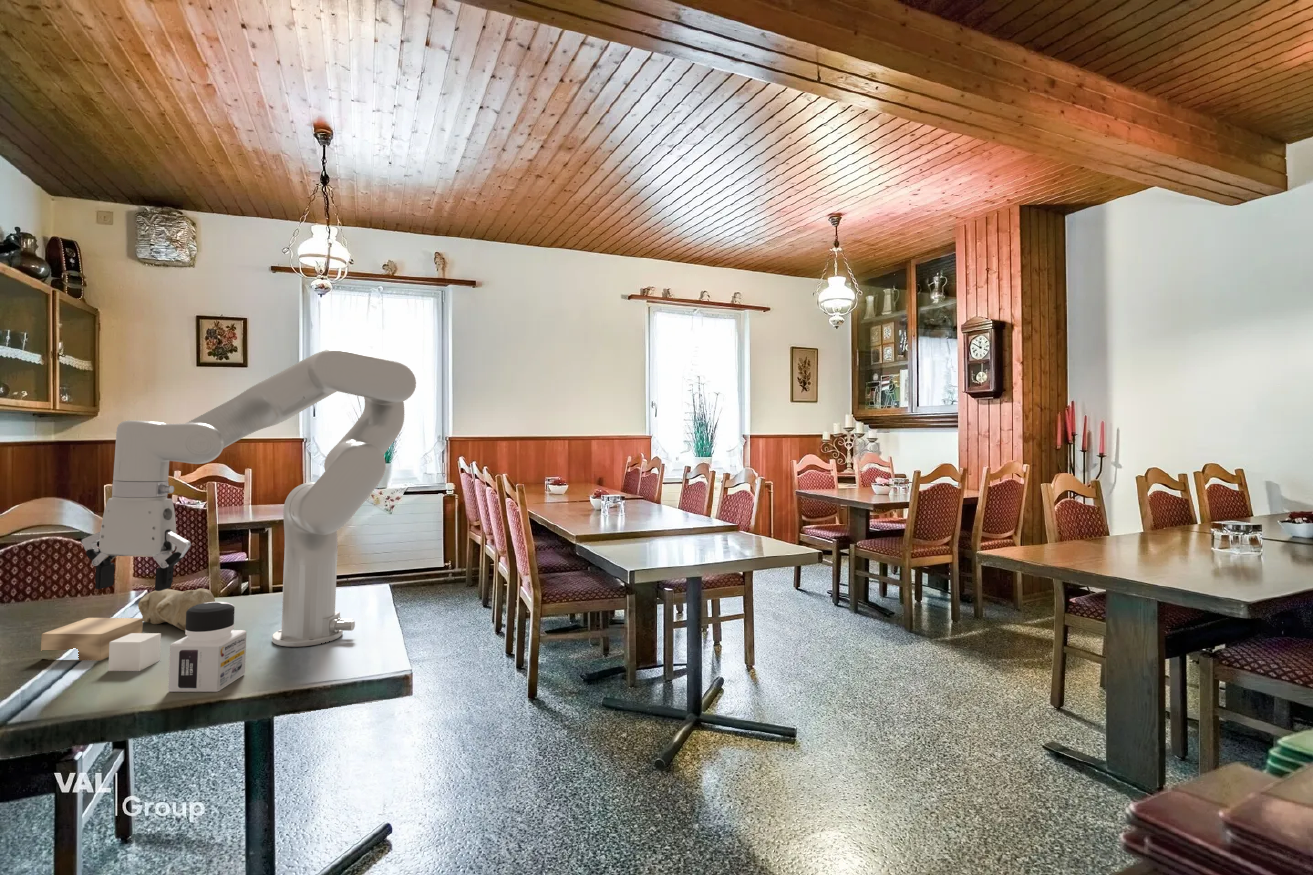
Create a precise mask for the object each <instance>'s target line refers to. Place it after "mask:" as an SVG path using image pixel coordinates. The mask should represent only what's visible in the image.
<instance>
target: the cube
mask: <svg viewBox="0 0 1313 875" xmlns="http://www.w3.org/2000/svg"><path fill="white" fill-rule="evenodd" d="M161 642H162V633H159V632H158V633H157V632H156V633H154V632H152V633H151V632H150V633H149V632H147V633H145V632H142V633H131V634H128V635H126V636H123V637H121V638H118V639H116V640H114V641H111V642H110V643H109V657H108V668H107V669H108V670H107V671H108V672H132V671H133V672H141V671H143V670H144V669H146V668H148V667H150V666H152V665H155V664H156V663H159V662H160V661H161V648H162V646H161Z"/></svg>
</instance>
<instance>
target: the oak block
mask: <svg viewBox="0 0 1313 875" xmlns="http://www.w3.org/2000/svg"><path fill="white" fill-rule="evenodd" d="M143 622H144V621H143V618H141V617H128V618H127V617H87V618H83V619H81V620H80V619H79V620H77V621H74V622H72V623H69V624H66V625H63V626H59V627H57V628H55V629H52V630H49V631H46V632H43V633H41V642H40V643H41V644H40V652H41V651H42V650H67V649H73V648H76V649H78V651H79V652H78V654H79V655H78V656H79V657H78V658H79V660H78V661H103V660H105V659H109V643H110V642H111V641H114V640H116V639H118V638H121V637H123V636H126V635H128V634H131V633H143V630H144V629H143V628H144V627H143V625H144V623H143Z"/></svg>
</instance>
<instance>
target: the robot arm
mask: <svg viewBox="0 0 1313 875" xmlns="http://www.w3.org/2000/svg"><path fill="white" fill-rule="evenodd" d="M416 379H417V378H416V377H415V374H414V373H413V371H412V370H411V369H410V368H409V367H408V366H407V365H405V364H403V363H401V362H398V361H394V360H389V359H385V358H381V357H376V356H371V355H366V354H364V353H363V354H362V353H358V352H353V351H349V350H344V349H339V348H329V349H325V350H321V351H319V352H316V353H314V354H312V355H310V356H308V357H305V359H303V360H300V361H299V362H298V361H297V363H294V364H292V365H290V366H288V367H287V368H285V369H284V370H281V371H279V372H278V373H276V374H273V375H271V376H270V377H267V378H265V379H264V380H262V381H260V382H258V383H256V384H254V385H252V386H251V387H249V388H247V389H245V390H244V391H243V392H241V393H240V394H237V395H236V396H235V397H233V398H231V399H229V400H228V401H226V402H223V403H222V404H220V405H218V406H216V407H215V408H212V409H210V410H209V411H208V410H207V412H205V413H203V414H201V415H198V416H197V417H195V418H192V419H191V420H189V421H187V422H185V423H165V422H161V421H153V420H152V421H150V420H133V419H132V420H130V419H129V420H124V421H121V422H120V423H119V424H118V426H117V427H116V432H115V433H116V434H115V448H114V449H115V450H114V462H113V476H112V479H113V480H112V490H111V497H109V498H108V499H107V501H106V504H105V508H104V510H103V515H102V519H101V526H100V531H98V532H96V533H93V534H91V535H89V536H87V537H85V538H82V539H81V544H82V546H83V549H84V550H85V555H86V556H87V557H88V558H89V559H90V560H91V564H92V566H94V567H95V575H94V576H95V577H94V579H95V580H94V582H95V587H94V589H96V590H102V589H106V588H110V587H112V586H113V585H114V582H115V571H116V570H115V569H116V568H115V567H116V566H115V562H112V561H113V560H114V559H115V558H116V557H117V556H118V557H139V558H140V557H142V558H151V557H152V558H153V559H154V560H155V562H156V563H157V564H158V565H159V566H160V567H157V568H156V569H155V580H154V591H155V590H156V591H162V590H165V589H171V587H172V584H173V581H174V568H175V567H174V566H176V565H178V562H180V561H181V560H182V559H183V558H185V556H186V553H187V552H188V551H189V549H190V547H191V546H192V543H191V541H190V540H187V539H186V538H184V537H183V536H180V535H179V534H177V524H176V523H177V522H176V512H175V506H174V502H173V499H172V498H168V496H169V495H168V494H173V493H174V491H175V487H174V485H169V475H170V474H169V473H170V462H178V463H186V464H194V465H200V464H202V465H203V464H207V463H210V462H212V461H214V460H215V459H217V458H218V457H219V456H220V455H221V453H222V452H223V449H225V448H227V447H228V446H230V445H233V444H234V443H236V442H237V441H240V440H241V439H243V438H246V437H247V436H249V435H251V434H253V433H256V432H258V431H260V430H263V429H266V428H270V427H274V426H276V425H278V424H280V423H283V422H286V421H287V420H288V419H290V418H292V417H294V416H295V415H298V414H300V413H301V412H303V411H304V410H307V409H308V408H310V407H311V406H313V405H315V404H317V403H319V402H320V401H322V400H324V399H326V398H329V396H331V395H333V394H334V393H337V392H339V393H345V394H347V395H348V394H349V395H353V396H358V397H363V399H364V407H363V408H364V409H363V412H362V414H361V415H360V417H359V418H358V419H357V421H356V422H355V423H354V424H353V426H352V427H351V428H350V429H349V430H348V432H346V434H345V435H343V437H342V438H341V440H340V441H338V442H337V443H336V445H334V446H333V448H332V449H331V450H330V451H329V452H328V454H326V457H325V459H324V463H323V464H324V465H323V466H324V472H323V473H322V474H321V476H320V477H319V478H318V479H317V480H316V481H315V482H313V481H312V482H305V483H302V484H299V485H298V486H296V487H294V488H293V489H292V490H291V491H290V492H289V494H287V496H286V499H285V501H284V505H283V514H282V515H283V516H282V517H283V530H284V531H283V533H284V558H283V559H284V560H283V576H282V577H283V580H282V605H281V606H282V607H281V629H279V630H277V631H275V632H274V633H273V634H272V636H271V642H272V643H273V644H275V645H276V646H281V647H290V648H291V647H292V648H295V647H296V648H297V647H298V648H299V647H310V646H317V645H321V643H322V644H326V643H329V641H330V642H332V641H335V640H338V639H339V638H340V637H341V636H342V635H343V634H342V633H343V632H344V631H348V632H350V631H351V632H352V631H354V629H355V627H356V622H355V620H354V618H342V617H341V612H340V611H336V599H337V597H336V596H337V594H336V593H337V591H336V590H337V567H338V564H337V563H338V552H339V551H338V546H339V545H338V544H339V543H338V531H339V530H340V529H342V527H344V526H345V525H346V524H347V523H348V522H349V521H350V520H351V519H352V517H353V516H354V515H355V514H356V513H357V512H358V510H359V509H360V508H361V507H362V505H364V503H365V501H366V500H367V499H368V498H369V497H370V495H371V494H373V492H374V490H375V489H376V488H377V487H378V485H379V484H380V483H381V481H382V479H383V477H384V475H385V471H386V467H387V466H386V464H387V462H386V458H385V456H384V455H385V453H387V451H388V450H389V448H390V447H391V446H392V444H393V443H394V442H395V441H396V439H397V437H398V436H399V434H400V432H401V431H402V428H403V426H404V424H405V423H404V422H405V403H404V401H407V400H408V399H409V398H411V397H412V396H413V394H414V392H415V390H416V389H417V388H416V387H417V380H416ZM98 544H99V545H98ZM172 552H173V553H172ZM325 642H326V643H325Z"/></svg>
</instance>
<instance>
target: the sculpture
mask: <svg viewBox="0 0 1313 875" xmlns="http://www.w3.org/2000/svg"><path fill="white" fill-rule="evenodd" d="M138 601H139V602H138V603H137V606H138V610H139V613H140V614H141V617H142V618H143V622H144V623H150V624H152V625H160V624H163V623H168V624H170V625H173V626H175V627H176V628H178V629H180V630H182V631H184V632H185V629H186V611H187V610H188V609H189V608H191V607H193V606H195V605H198V604H202V603H208V602H216V600H215V597H214V594H213V593H212V592H211V590H209V589H207V588H202V587H201V588H197V589H193V590H192V589H187V590H183V591H181V590H176V589H171V588H168V589H165V590H162V591H156V590H155V589H154V590H153V591H151V592H148V593H147V594H145V595H144V596H143V597H142V598H140V600H138Z"/></svg>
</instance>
